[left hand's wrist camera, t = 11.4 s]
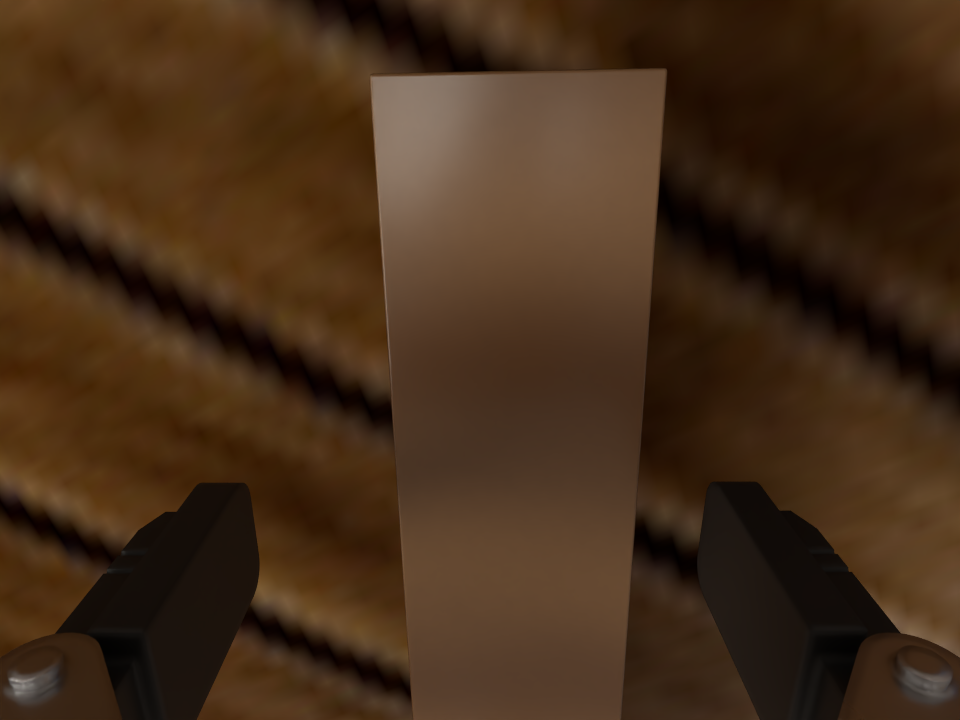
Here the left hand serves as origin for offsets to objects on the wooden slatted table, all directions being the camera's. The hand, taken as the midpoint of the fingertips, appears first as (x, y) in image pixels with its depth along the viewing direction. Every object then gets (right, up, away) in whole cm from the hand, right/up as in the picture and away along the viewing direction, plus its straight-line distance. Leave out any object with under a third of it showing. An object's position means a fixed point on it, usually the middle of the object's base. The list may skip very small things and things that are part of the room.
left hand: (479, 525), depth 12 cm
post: (+1, -16, +13) cm, 21 cm away
